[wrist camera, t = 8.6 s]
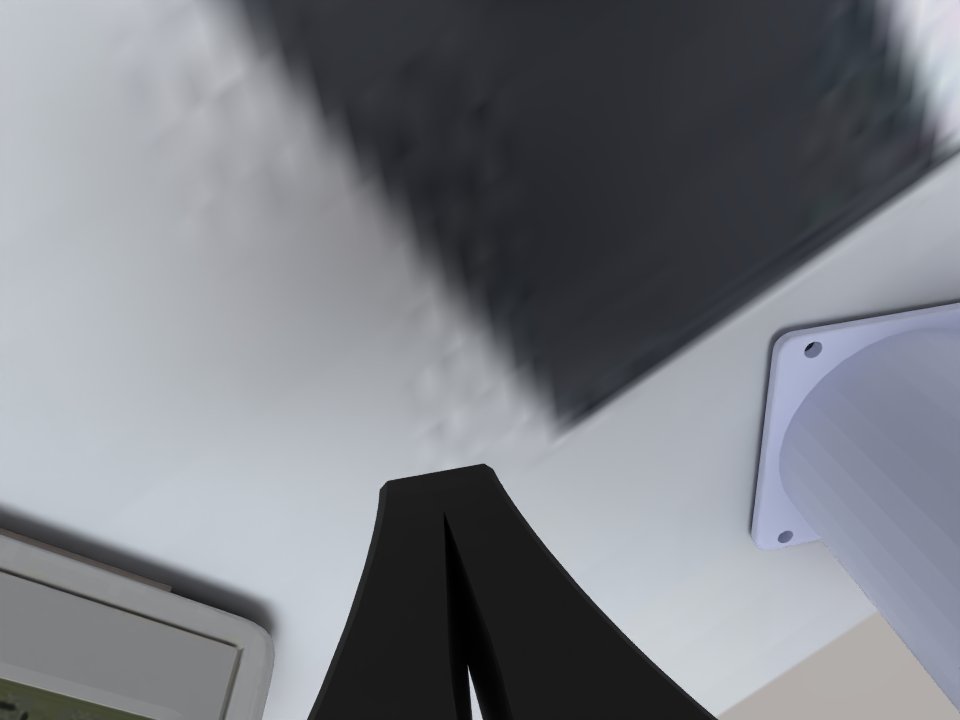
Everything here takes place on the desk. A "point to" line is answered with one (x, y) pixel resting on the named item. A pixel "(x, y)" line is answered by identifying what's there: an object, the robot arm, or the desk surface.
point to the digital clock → (118, 645)
